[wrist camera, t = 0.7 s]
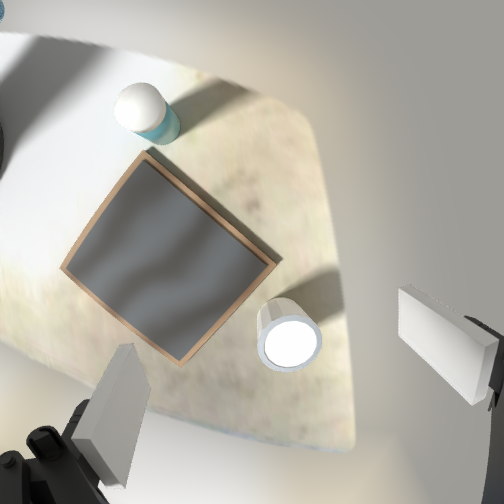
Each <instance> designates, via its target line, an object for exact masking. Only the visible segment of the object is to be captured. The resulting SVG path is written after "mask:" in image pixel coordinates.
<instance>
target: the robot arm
mask: <svg viewBox="0 0 504 504" xmlns="http://www.w3.org/2000/svg"><path fill="white" fill-rule="evenodd" d="M3 16H4V5H3V2H2V0H0V22H1V21H2V19H3ZM2 156H3V133H2V127H1V124H0V167H1V162H2ZM399 336H400V337H401V338H402V339H403V340H404V341H405V342H406V343H407V344H408V345H409V346H410V347H411V348H412V349H414V350H415V351H416V352H417V353H418V354H419V355H420V356H421V357H422V358H423V359H424V360H426V362H427V363H428V364H429V365H431V366H432V367H433V368H434V369H435V370H436V371H437V372H438V373H439V374H440V375H441V376H442V377H443V378H444V379H445V380H446V381H447V382H448V383H449V384H450V385H451V386H452V387H453V388H454V389H455V390H457V391H458V392H459V393H460V394H461V395H462V396H463V397H464V398H465V399H466V400H467V401H468V402H469V403H470V404H471V405H474V404H475V403H477V402H479V401H481V400H482V399H484V398H485V397H486V393H487V390H488V386H490V387H491V388H492V389H493V390H494V392H493V395H492V399H491V402H490V405H489V408H488V411H490V410H491V407H492V416H491V435H490V447H489V457H488V466H487V474H486V480H485V486H484V492H483V498H482V503H481V504H504V336H502V335H501V334H499V333H498V332H496V331H494V330H492V329H491V328H489V327H488V326H487V325H485V324H483V323H482V322H480V321H479V320H477V319H475V318H472V317H469V316H462V315H460V314H459V313H457V312H455V311H454V310H452V309H451V308H449V307H447V306H446V305H444V304H443V303H441V302H439V301H437V300H436V299H434V298H433V297H431V296H429V295H428V294H426V293H424V292H423V291H421V290H419V289H418V288H416V287H415V286H413V285H407V286H403V287H400V288H399ZM150 391H151V387H150V385H149V382H148V380H147V377H146V375H145V372H144V370H143V367H142V365H141V362H140V359H139V357H138V354H137V351H136V349H135V346H134V343H131V344H123V345H119V347H118V348H117V350H116V352H115V354H114V356H113V357H112V359H111V361H110V363H109V365H108V367H107V369H106V370H105V372H104V374H103V376H102V378H101V380H100V382H99V384H98V386H97V387H96V389H95V391H94V393H93V395H92V397H91V399H86V400H83V401H82V402H81V403H80V404H79V405H78V406H77V407H76V409H75V411H74V413H73V416H72V417H71V418H70V420H69V423H68V424H67V426H66V428H65V430H64V432H63V434H62V435H61V436H60V435H59V433H58V431H57V430H56V429H55V428H54V427H51V426H42V427H39V428H37V429H35V430H33V431H32V432H31V433H30V434H29V435H28V437H27V440H26V444H27V446H28V447H29V449H30V450H31V451H32V453H33V454H34V455H35V457H36V458H33V459H26V460H25V459H24V458H23V456H22V455H21V454H20V453H19V452H18V451H15V450H14V451H7V452H5V453H3V454H2V455H0V504H109V502H108V501H107V499H106V498H105V497H104V495H103V493H102V492H101V491H100V489H99V488H98V483H99V480H101V481H102V483H103V484H104V485H105V486H106V488H110V489H125V487H126V483H127V479H128V475H129V471H130V467H131V463H132V458H133V454H134V451H135V446H136V443H137V438H138V435H139V431H140V427H141V424H142V420H143V416H144V413H145V409H146V406H147V402H148V398H149V395H150Z"/></svg>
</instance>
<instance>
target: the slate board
mask: <svg viewBox="0 0 504 504" xmlns="http://www.w3.org/2000/svg"><path fill="white" fill-rule="evenodd" d="M276 265H277V264H276V263H275V262H274V261H273V260H272V259H271V258H269V257H268V256H267V255H266V254H265V253H264V252H263V251H261V250H260V249H259V248H258V247H257V246H256V245H254V244H253V243H252V242H251V241H250V240H249V239H248V238H246V237H245V236H244V235H243V234H242V233H241V232H239V231H238V230H237V229H236V228H235V227H234V226H232V225H231V224H230V223H229V222H228V221H227V220H226V219H224V218H223V217H222V216H221V215H220V214H219V213H217V212H216V211H215V210H214V209H213V208H212V207H210V206H209V205H208V204H207V203H206V202H205V201H203V200H202V199H201V198H200V197H199V196H198V195H197V194H195V193H194V192H193V191H192V190H191V189H190V188H188V187H187V186H186V185H185V184H184V183H183V182H181V181H180V180H179V179H178V178H177V177H176V176H174V175H173V174H172V173H171V172H170V171H169V170H167V169H166V168H165V167H164V166H163V165H162V164H160V163H159V162H158V161H157V160H156V159H154V158H153V157H152V156H151V155H150V154H149V153H147V152H146V151H145V150H143V151H142V152H141V153H140V154H139V156H138V157H137V158H136V159H135V160H134V162H133V163H132V164H131V165H130V167H129V168H128V169H127V171H126V172H125V173H124V174H123V176H122V177H121V178H120V180H119V181H118V182H117V184H116V185H115V186H114V188H113V189H112V190H111V192H110V193H109V194H108V196H107V197H106V198H105V200H104V201H103V203H102V204H101V205H100V207H99V208H98V210H97V211H96V212H95V214H94V215H93V217H92V218H91V220H90V221H89V223H88V224H87V226H86V227H85V229H84V230H83V232H82V233H81V235H80V236H79V238H78V239H77V241H76V242H75V244H74V245H73V247H72V248H71V250H70V252H69V253H68V255H67V256H66V258H65V260H64V261H63V263H62V265H61V266H60V269H61V270H62V271H63V272H64V273H65V274H66V275H67V276H68V277H69V278H70V279H71V280H72V281H74V282H75V283H76V284H77V285H78V286H79V287H80V288H81V289H82V290H84V291H85V292H86V293H87V294H88V295H89V296H90V297H91V298H93V299H94V300H95V301H96V302H97V303H98V304H100V305H101V306H102V307H103V308H104V309H105V310H107V311H108V312H109V313H110V314H111V315H113V316H114V317H115V318H116V319H118V320H119V321H120V322H121V323H122V324H124V325H125V326H126V327H127V328H129V329H130V330H131V331H132V332H134V333H135V334H136V335H138V336H139V337H140V338H141V339H143V340H144V341H145V342H147V343H148V344H149V345H151V346H152V347H153V348H155V349H156V350H157V351H159V352H160V353H161V354H163V355H164V356H166V357H167V358H168V359H170V360H171V361H172V362H174V363H175V364H177V365H178V366H180V367H182V366H183V365H184V364H185V363H186V362H187V361H188V360H189V359H190V358H191V357H192V356H193V354H194V353H195V352H196V351H197V350H198V349H199V348H200V347H201V346H202V345H203V344H204V343H205V342H206V341H207V340H208V339H209V338H210V337H211V336H212V334H213V333H214V332H215V331H216V330H217V329H218V328H219V327H220V326H221V325H222V324H223V323H224V322H225V321H226V320H227V318H228V317H229V316H230V315H231V314H232V313H233V312H234V311H235V310H236V309H237V308H238V307H239V306H240V304H241V303H242V302H243V301H244V300H245V299H246V298H247V297H248V296H249V295H250V294H251V293H252V291H253V290H254V289H255V288H256V287H257V286H258V285H259V284H260V283H261V282H262V281H263V279H264V278H265V277H266V276H267V275H268V274H269V273H270V272H271V271H272V270H273V269H274V267H275V266H276Z"/></svg>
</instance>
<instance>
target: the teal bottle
mask: <svg viewBox="0 0 504 504" xmlns="http://www.w3.org/2000/svg"><path fill="white" fill-rule="evenodd" d="M114 113H115V117H116V119H117V121H118V122H119V123H120V124H121V125H122V126H123V127H125V128H127V129H129V130H131V131H132V132H134V133H136V134H138V135H140V136H142V137H143V138H145V139H147V140H149V141H151V142H152V143H154V144H157V145H166V144H169V143H171V142H172V141H174V140H175V139H176V137H177V136H178V134H179V132H180V121H179V119H178V117H177V116H176V115H175V113H174V112H173V111H172V109H171V108H170V106H169V105H168V104H167V102H166V101H165V99H164V98H163V97H162V95H161V94H160V93H159V91H158V90H157V89H156V88H155V87H154V86H152V85H150V84H147V83H135V84H132V85H130V86H128V87H127V88H125V89H124V90H123V91H122V92H121V93H120V94H119V96H118V97H117V100H116V102H115V106H114Z"/></svg>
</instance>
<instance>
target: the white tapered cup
mask: <svg viewBox="0 0 504 504" xmlns="http://www.w3.org/2000/svg"><path fill="white" fill-rule="evenodd" d="M257 338H258V354H259V356H260V358H261V360H262V362H263V363H264V364H265V365H267V366H268V367H269V368H271V369H272V370H276V371H280V372H292V371H297V370H300V369H302V368H304V367H306V366H308V365H309V364H310V363H311V362H312V361H313V360H314V359H315V358H316V357H317V355H318V353H319V351H320V349H321V347H322V334H321V332H320V329H319V327H318V325H317V324H316V323H315V322H314V321H313V320H312V319H311V318H310V317H309V316H308V315H307V314H306V313H305V311H304V310H303V309H302V308H301V307H300V306H299V305H298V304H297V303H295V302H294V301H293V300H291V299H288V298H285V297H280V298H274V299H271V300H269V301H267V302H266V303H265V304H264V305H263V306H262V307H261V308H260V310H259V313H258V315H257Z"/></svg>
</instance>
